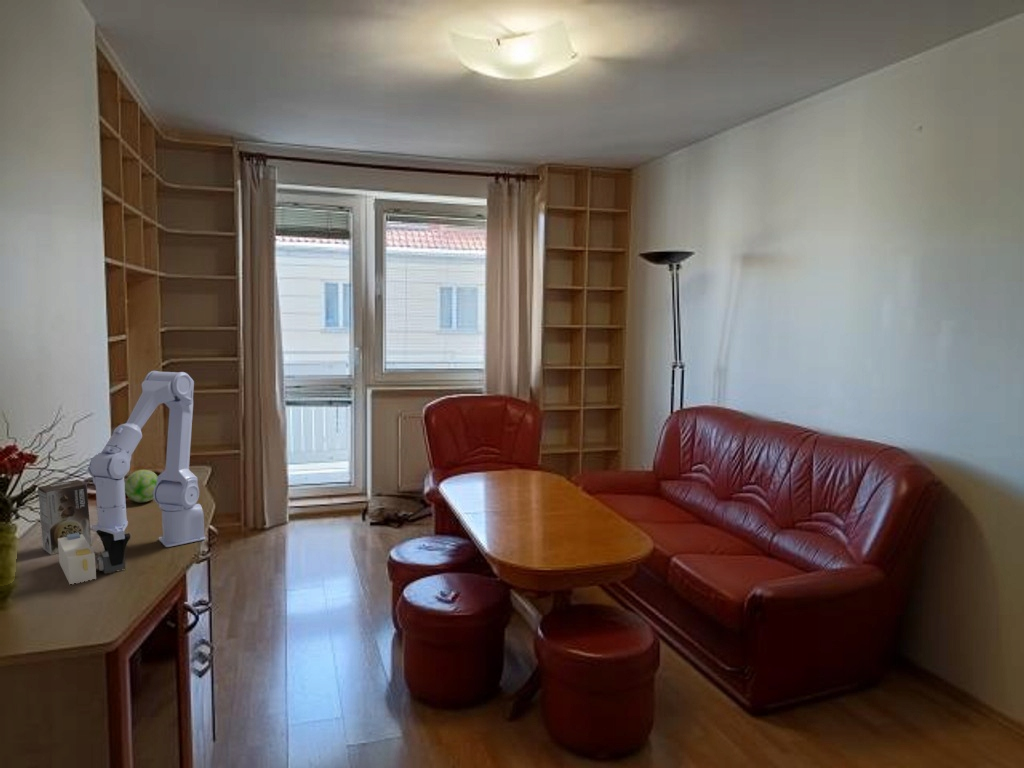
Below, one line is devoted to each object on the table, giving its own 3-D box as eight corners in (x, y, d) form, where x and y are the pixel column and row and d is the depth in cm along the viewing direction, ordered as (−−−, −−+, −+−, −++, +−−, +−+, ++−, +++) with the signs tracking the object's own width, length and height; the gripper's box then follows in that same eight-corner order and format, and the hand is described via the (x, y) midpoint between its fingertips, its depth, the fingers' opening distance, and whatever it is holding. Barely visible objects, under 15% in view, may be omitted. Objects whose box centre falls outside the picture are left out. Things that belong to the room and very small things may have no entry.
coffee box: (82, 539, 179) (78, 478, 177) (92, 545, 175) (88, 483, 173) (41, 549, 172) (37, 486, 170) (50, 555, 168) (46, 490, 166)
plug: (121, 564, 163) (120, 548, 162) (125, 569, 160) (124, 553, 159) (97, 569, 159) (96, 553, 159) (100, 575, 156) (99, 558, 156)
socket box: (82, 556, 167) (81, 530, 167) (97, 581, 153) (95, 552, 152) (58, 561, 164) (56, 534, 163) (71, 587, 150) (68, 557, 149)
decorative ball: (130, 508, 205) (128, 475, 204) (121, 501, 213) (119, 469, 211) (166, 502, 212) (164, 470, 211) (156, 495, 219) (154, 464, 218)
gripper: (85, 500, 161) (89, 556, 163) (97, 515, 150) (101, 575, 152) (119, 495, 166) (123, 549, 167) (133, 509, 155) (136, 567, 156)
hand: (114, 561), depth 160 cm, fingers closed on plug, 4 cm apart
